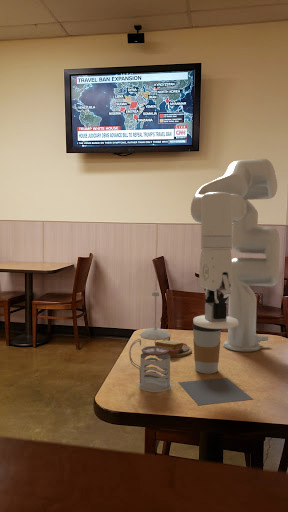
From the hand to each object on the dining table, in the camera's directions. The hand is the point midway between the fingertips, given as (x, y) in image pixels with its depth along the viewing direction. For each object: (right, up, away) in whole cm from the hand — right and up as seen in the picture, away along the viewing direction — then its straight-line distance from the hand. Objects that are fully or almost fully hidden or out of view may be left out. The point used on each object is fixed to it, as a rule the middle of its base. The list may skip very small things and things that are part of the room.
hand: (215, 315), depth 96 cm
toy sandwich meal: (-8, -18, +33) cm, 39 cm away
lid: (0, -2, 0) cm, 2 cm away
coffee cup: (0, -19, +15) cm, 24 cm away
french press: (-16, -19, +4) cm, 25 cm away
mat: (0, -19, +1) cm, 19 cm away
